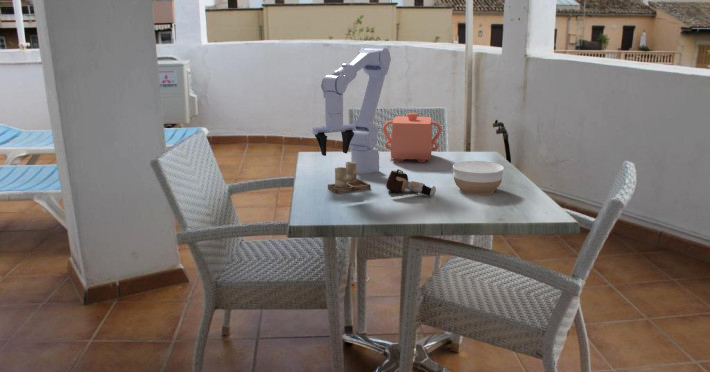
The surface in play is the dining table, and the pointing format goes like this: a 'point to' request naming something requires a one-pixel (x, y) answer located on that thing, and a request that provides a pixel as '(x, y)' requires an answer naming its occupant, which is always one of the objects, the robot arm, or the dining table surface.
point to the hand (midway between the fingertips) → (334, 154)
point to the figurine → (407, 184)
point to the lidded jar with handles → (411, 137)
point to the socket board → (350, 187)
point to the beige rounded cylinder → (340, 177)
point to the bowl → (477, 177)
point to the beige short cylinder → (351, 171)
